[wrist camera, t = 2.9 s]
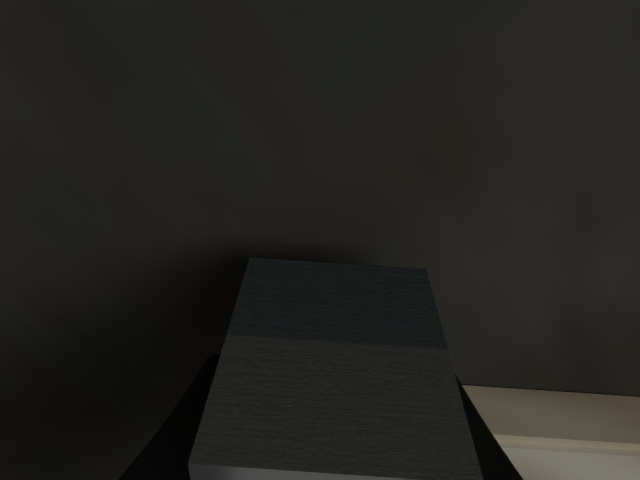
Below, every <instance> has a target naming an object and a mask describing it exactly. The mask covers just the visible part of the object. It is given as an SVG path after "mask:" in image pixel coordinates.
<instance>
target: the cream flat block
mask: <svg viewBox="0 0 640 480" xmlns="http://www.w3.org/2000/svg"><path fill="white" fill-rule="evenodd" d="M462 386H463V388H464V389H465V391H466V393H467V394H468V396H469V398H470V399H471V401H472V403H473V404H474V406H475V407H476V409H477V411H478V412H479V414H480V415H481V417H482V419H483V420H484V422H485V423H486V425H487V427H488V428H489V430H490V431H491V433H492V434H493V436H494V437H495V439H496V440H497V442H498V443H499V445H500V446H501V448H502V449H503V451H504V452H505V454H506V455H507V456H508V458H509V459H510V461H511V462H512V464H513V465H514V467H515V468H516V470H517V471H518V472H519V474H520V475H521V477H522V478H523V479H524V480H640V397H635V396H620V395H604V394H589V393H574V392H559V391H544V390H529V389H514V388H499V387H484V386H469V385H462Z"/></svg>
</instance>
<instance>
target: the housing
mask: <svg viewBox="0 0 640 480" xmlns="http://www.w3.org/2000/svg"><path fill="white" fill-rule="evenodd" d="M188 468H189V474H190V480H483V476H482V473H481V469H480V465H479V462H478V458H477V454H476V451H475V447H474V443H473V440H472V436H471V432H470V428H469V425H468V421H467V417H466V414H465V410H464V406H463V403H462V399H461V395H460V392H459V388H458V384H457V381H456V377H455V373H454V370H453V366H452V362H451V359H450V355H449V351H448V348H447V344H446V340H445V337H444V333H443V329H442V326H441V322H440V318H439V315H438V311H437V307H436V304H435V300H434V296H433V292H432V289H431V285H430V281H429V278H428V274H427V270H426V269H417V268H402V267H387V266H372V265H357V264H342V263H327V262H312V261H297V260H282V259H267V258H252V257H250V258H249V262H248V265H247V268H246V272H245V275H244V278H243V282H242V285H241V288H240V292H239V295H238V298H237V302H236V305H235V308H234V312H233V315H232V318H231V322H230V325H229V328H228V332H227V335H226V338H225V342H224V345H223V348H222V352H221V355H220V358H219V362H218V365H217V368H216V372H215V375H214V378H213V382H212V385H211V388H210V392H209V395H208V398H207V402H206V405H205V408H204V412H203V415H202V418H201V422H200V425H199V428H198V432H197V435H196V438H195V442H194V445H193V448H192V452H191V455H190V458H189V462H188Z"/></svg>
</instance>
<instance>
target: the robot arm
mask: <svg viewBox="0 0 640 480" xmlns="http://www.w3.org/2000/svg"><path fill="white" fill-rule="evenodd" d="M219 358H220V355H211V356H210V357H208V358H207V360H206V362H205V363H204V365H203V367H202V368H201V370H200V371H199V373H198V375H197V376H196V378H195V379H194V381H193V382H192V384H191V385H190V387H189V388H188V390H187V391H186V393H185V394H184V396H183V397H182V398H181V400H180V401H179V403H178V404H177V406H176V407H175V408H174V410H173V411H172V412H171V414H170V415H169V417H168V418H167V419H166V421H165V422H164V423H163V425H162V426H161V427H160V429H159V430H158V431H157V433H156V434H155V435H154V437H153V438H152V439H151V440H150V442H149V443H148V444H147V446H146V447H145V448H144V449H143V450H142V452H141V453H140V454H139V455H138V457H137V458H136V459H135V460H134V461H133V463H132V464H131V465H130V466H129V467H128V469H127V470H126V471H125V472H124V473H123V475H122V476H121V477H120V478H119V480H190V474H189V468H188V462H189V458H190V455H191V452H192V448H193V445H194V442H195V438H196V435H197V432H198V428H199V425H200V422H201V418H202V415H203V412H204V408H205V405H206V402H207V398H208V395H209V392H210V388H211V385H212V382H213V378H214V375H215V372H216V368H217V365H218V362H219ZM455 377H456V381H457V384H458V388H459V392H460V395H461V399H462V403H463V406H464V410H465V414H466V417H467V421H468V425H469V428H470V432H471V436H472V440H473V443H474V447H475V451H476V454H477V458H478V462H479V465H480V469H481V473H482V476H483V480H524V479H523V478H522V477H521V475H520V474H519V472H518V471H517V470H516V468H515V467H514V465H513V464H512V462H511V461H510V459H509V458H508V456H507V455H506V454H505V452H504V451H503V449H502V448H501V446H500V445H499V443H498V442H497V440H496V439H495V437H494V436H493V434H492V433H491V431H490V430H489V428H488V427H487V425H486V423H485V422H484V420H483V419H482V417H481V415H480V414H479V412H478V411H477V409H476V407H475V406H474V404H473V403H472V401H471V399H470V398H469V396H468V394H467V393H466V391H465V389H464V388H463V386H462V384H461V382H460V381H459V379H458V377H457V376H456V374H455Z"/></svg>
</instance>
